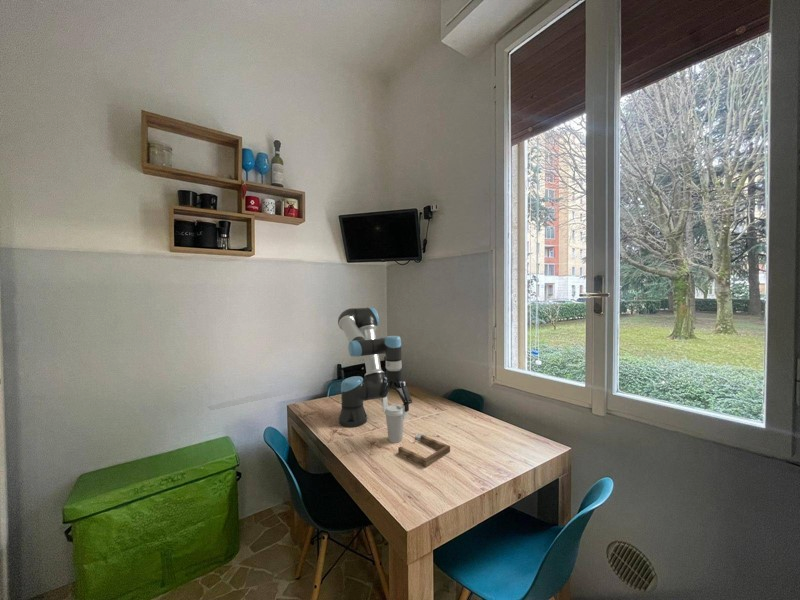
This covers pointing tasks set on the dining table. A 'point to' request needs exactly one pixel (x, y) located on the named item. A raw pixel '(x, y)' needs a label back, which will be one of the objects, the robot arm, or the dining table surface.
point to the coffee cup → (394, 423)
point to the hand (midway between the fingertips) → (395, 414)
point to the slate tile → (419, 436)
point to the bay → (430, 459)
